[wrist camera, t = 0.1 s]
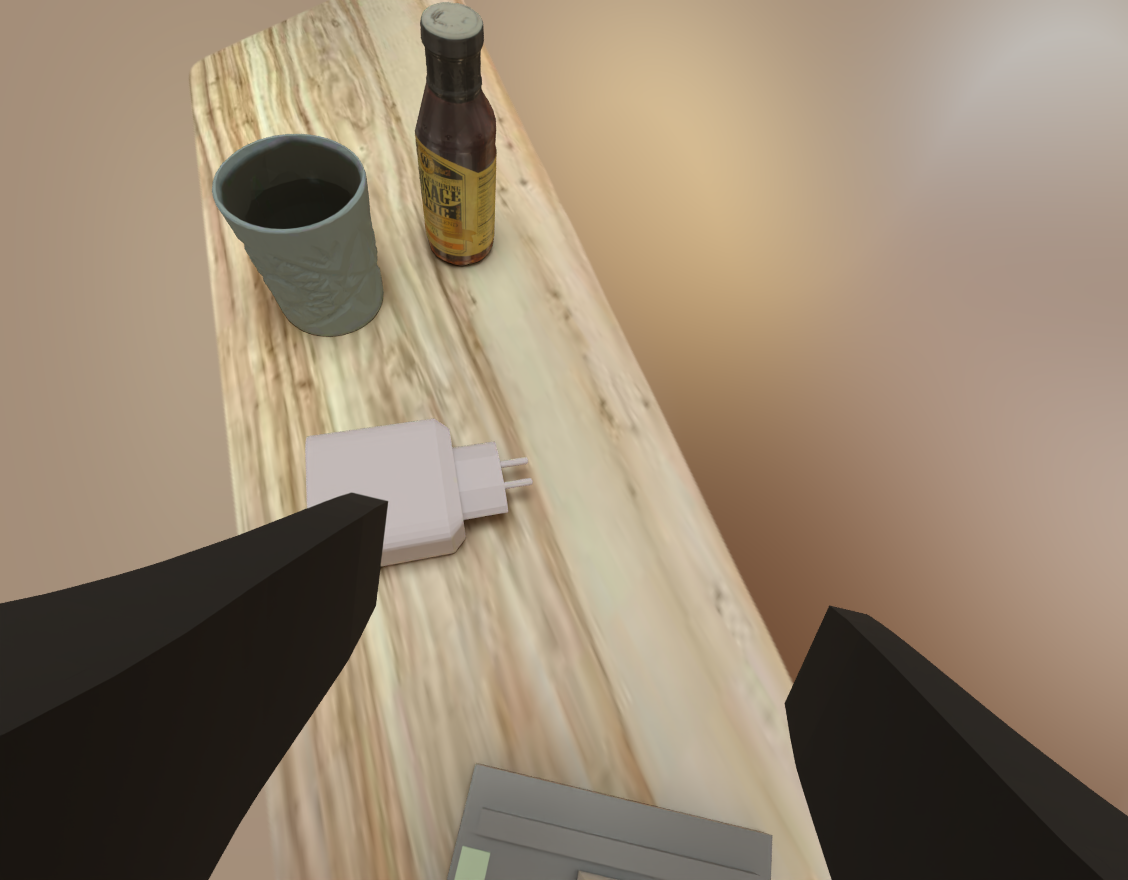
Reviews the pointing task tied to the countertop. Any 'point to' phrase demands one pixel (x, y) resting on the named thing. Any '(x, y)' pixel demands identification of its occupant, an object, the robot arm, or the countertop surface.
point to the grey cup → (305, 228)
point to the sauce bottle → (456, 137)
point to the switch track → (593, 836)
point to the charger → (411, 482)
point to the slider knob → (591, 876)
